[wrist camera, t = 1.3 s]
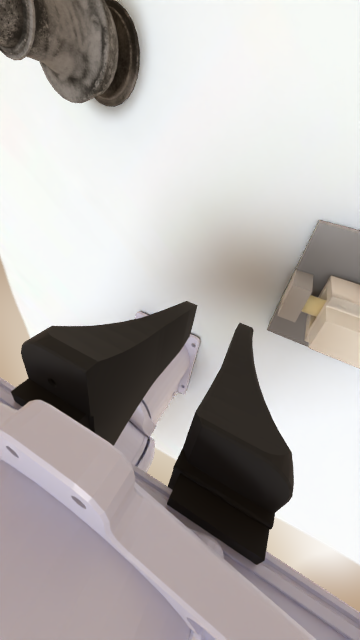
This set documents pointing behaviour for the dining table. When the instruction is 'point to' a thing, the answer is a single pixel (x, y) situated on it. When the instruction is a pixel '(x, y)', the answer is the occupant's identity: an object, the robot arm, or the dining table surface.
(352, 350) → the sleeve
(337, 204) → the dining table surface
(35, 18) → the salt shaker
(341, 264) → the comb rail
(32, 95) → the dining table surface
